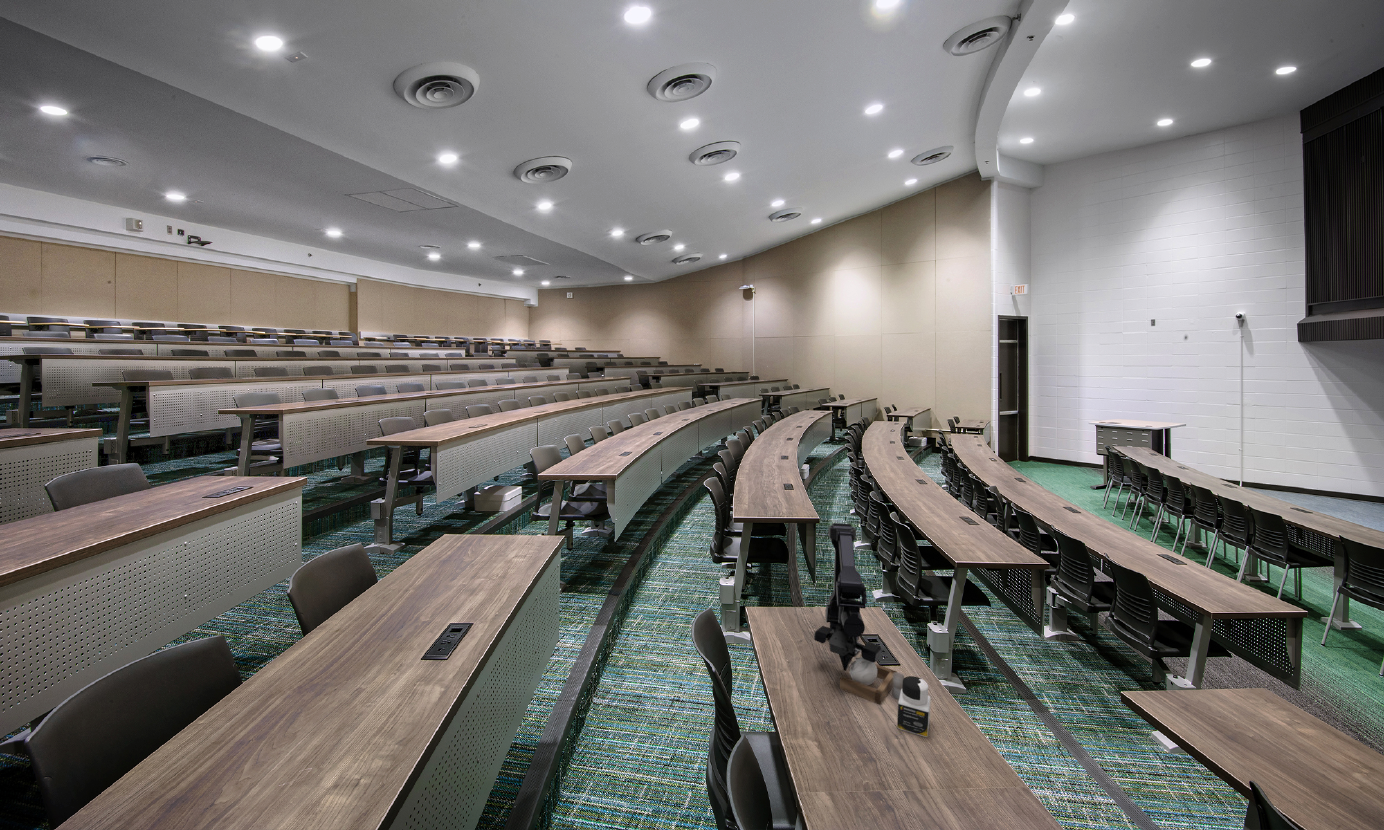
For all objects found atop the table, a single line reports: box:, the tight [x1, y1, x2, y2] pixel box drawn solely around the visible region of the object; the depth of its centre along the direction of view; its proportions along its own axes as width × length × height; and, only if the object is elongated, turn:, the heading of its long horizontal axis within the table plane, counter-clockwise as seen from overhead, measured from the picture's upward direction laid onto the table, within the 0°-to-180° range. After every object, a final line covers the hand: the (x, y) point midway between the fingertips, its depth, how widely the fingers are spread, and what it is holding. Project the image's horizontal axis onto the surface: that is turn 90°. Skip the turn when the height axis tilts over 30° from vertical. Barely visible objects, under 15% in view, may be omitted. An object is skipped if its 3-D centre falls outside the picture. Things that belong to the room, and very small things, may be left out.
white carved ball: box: [848, 656, 878, 686], centre depth 153 cm, size 8×8×8 cm
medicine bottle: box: [896, 675, 932, 738], centre depth 135 cm, size 7×7×12 cm
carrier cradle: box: [839, 663, 905, 705], centre depth 151 cm, size 14×16×6 cm
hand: (845, 670), depth 156 cm, fingers closed
